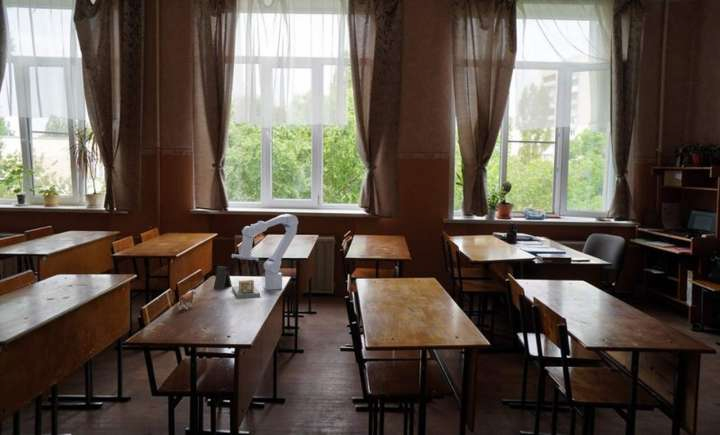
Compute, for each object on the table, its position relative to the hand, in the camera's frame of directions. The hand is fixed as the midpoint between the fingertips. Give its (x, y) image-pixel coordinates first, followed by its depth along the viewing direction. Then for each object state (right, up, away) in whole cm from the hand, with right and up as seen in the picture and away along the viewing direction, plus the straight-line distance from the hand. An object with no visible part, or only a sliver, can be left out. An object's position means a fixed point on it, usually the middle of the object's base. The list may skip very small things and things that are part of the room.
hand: (242, 272), depth 321 cm
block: (+2, -9, -3) cm, 10 cm away
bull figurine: (-20, -14, -36) cm, 43 cm away
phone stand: (-14, -10, +11) cm, 20 cm away
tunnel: (+3, -9, -5) cm, 11 cm away
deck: (+2, -11, -4) cm, 12 cm away
